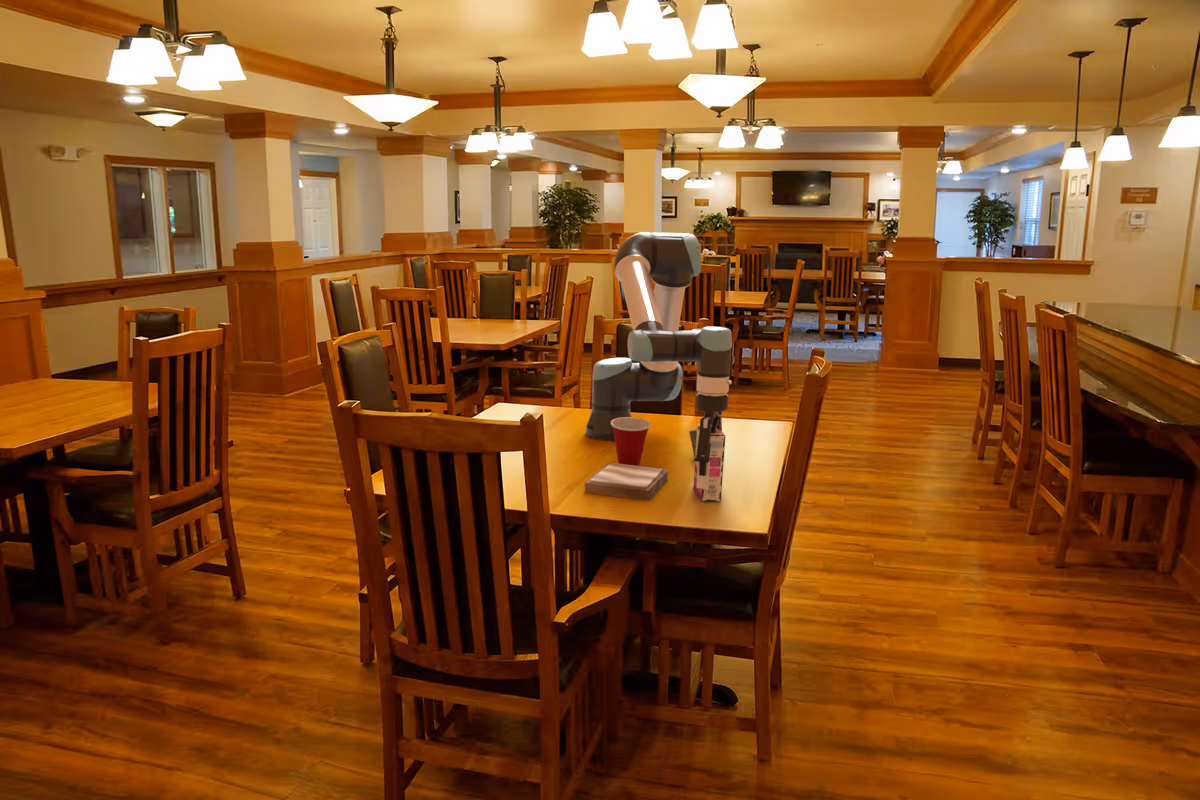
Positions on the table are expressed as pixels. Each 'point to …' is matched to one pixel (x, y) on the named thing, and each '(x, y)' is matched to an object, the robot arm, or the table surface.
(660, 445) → the table surface
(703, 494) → the candy bar box
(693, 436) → the electrical switch
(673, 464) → the table surface
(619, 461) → the plastic cup
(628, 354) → the robot arm
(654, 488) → the pale flat square slab
